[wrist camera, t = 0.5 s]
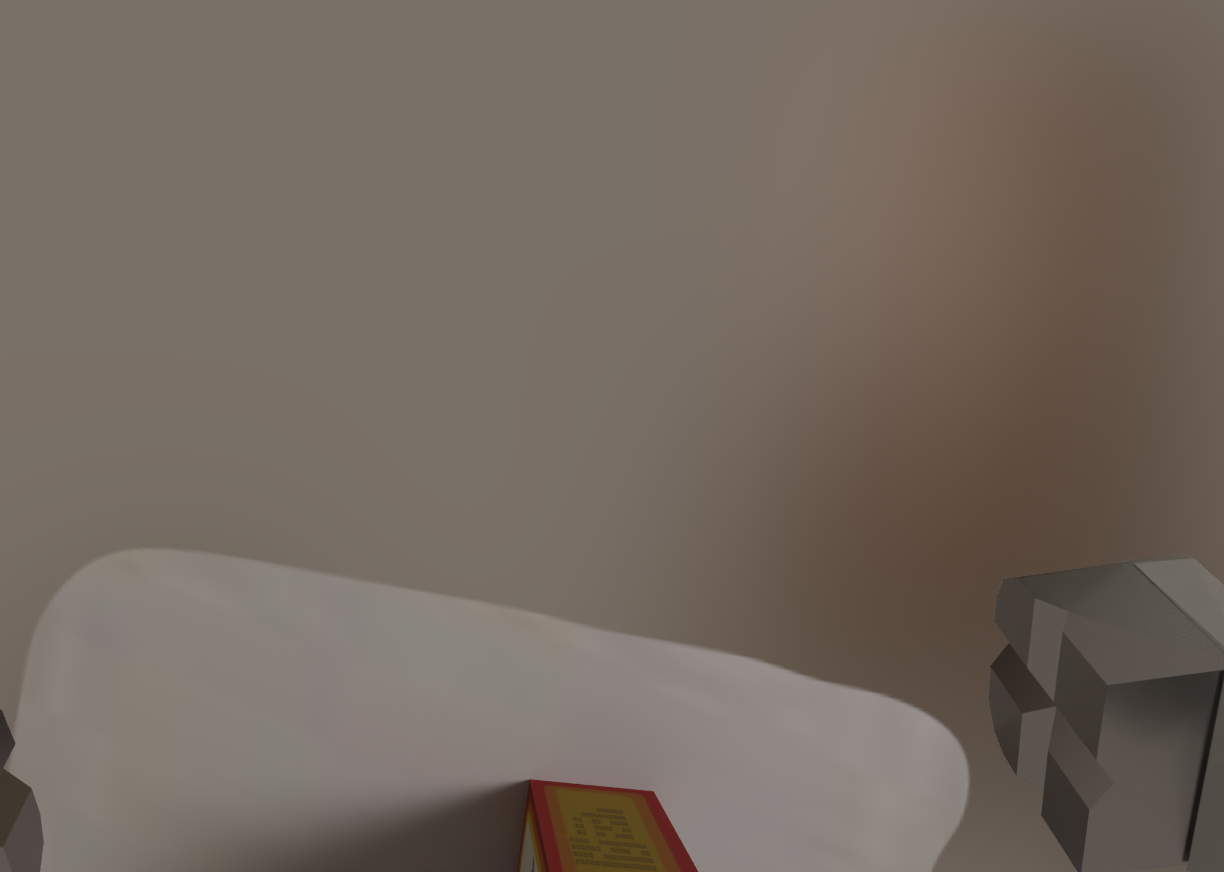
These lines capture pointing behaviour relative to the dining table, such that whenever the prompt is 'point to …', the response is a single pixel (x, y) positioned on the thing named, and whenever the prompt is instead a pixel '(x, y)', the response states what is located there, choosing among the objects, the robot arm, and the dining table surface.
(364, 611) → the dining table surface
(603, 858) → the baking soda box
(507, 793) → the dining table surface
